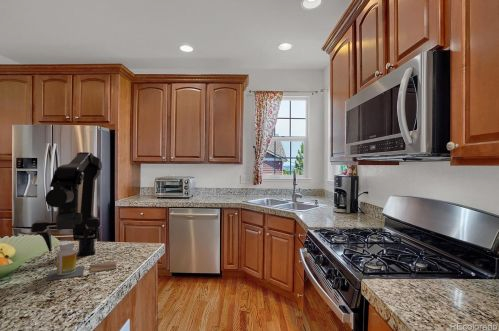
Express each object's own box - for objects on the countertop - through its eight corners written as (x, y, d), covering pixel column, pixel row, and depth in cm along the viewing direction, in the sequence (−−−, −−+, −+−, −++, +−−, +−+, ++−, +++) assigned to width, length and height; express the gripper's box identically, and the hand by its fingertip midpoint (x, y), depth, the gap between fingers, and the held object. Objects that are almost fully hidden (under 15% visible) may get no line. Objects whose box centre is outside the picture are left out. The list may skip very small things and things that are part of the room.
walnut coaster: (90, 265, 99) (90, 264, 99) (115, 262, 103) (115, 261, 103) (90, 272, 92) (90, 271, 92) (116, 268, 96) (116, 267, 96)
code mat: (50, 270, 93) (50, 270, 93) (84, 266, 98) (84, 265, 98) (45, 281, 85) (45, 280, 85) (82, 275, 89) (82, 275, 89)
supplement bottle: (79, 270, 94) (80, 241, 94) (67, 276, 88) (68, 246, 89) (65, 269, 94) (65, 241, 95) (52, 275, 89) (53, 245, 89)
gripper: (27, 208, 80) (26, 261, 80) (99, 204, 89) (98, 252, 89) (35, 203, 90) (34, 250, 90) (99, 201, 99) (98, 244, 99)
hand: (67, 249), depth 92 cm, fingers open, 9 cm apart
